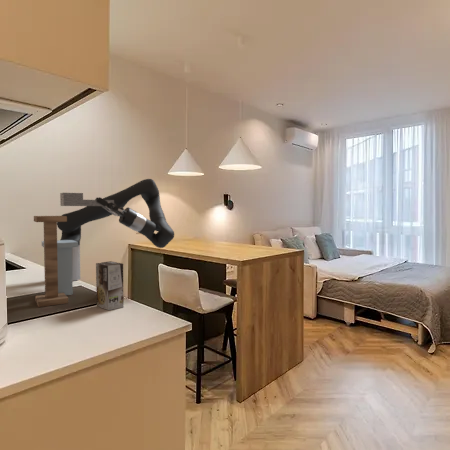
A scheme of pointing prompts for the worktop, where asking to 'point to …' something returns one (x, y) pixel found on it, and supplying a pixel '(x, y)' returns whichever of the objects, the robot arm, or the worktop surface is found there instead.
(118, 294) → the coffee box
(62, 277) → the slate stand
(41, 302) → the wooden pedestal stand
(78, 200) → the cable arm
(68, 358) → the worktop surface
